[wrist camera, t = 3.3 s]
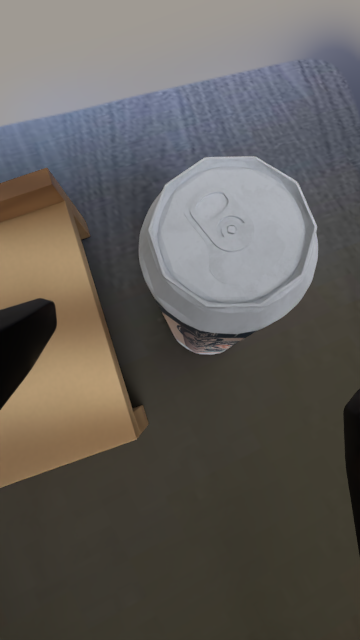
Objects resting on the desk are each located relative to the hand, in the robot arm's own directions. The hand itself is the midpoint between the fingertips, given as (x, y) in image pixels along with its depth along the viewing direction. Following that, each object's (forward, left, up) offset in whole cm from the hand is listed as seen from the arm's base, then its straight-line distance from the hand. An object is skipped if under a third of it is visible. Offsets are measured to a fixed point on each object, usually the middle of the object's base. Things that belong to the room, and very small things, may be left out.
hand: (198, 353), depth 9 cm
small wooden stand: (+4, +9, -10) cm, 14 cm away
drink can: (+2, -2, -10) cm, 11 cm away
